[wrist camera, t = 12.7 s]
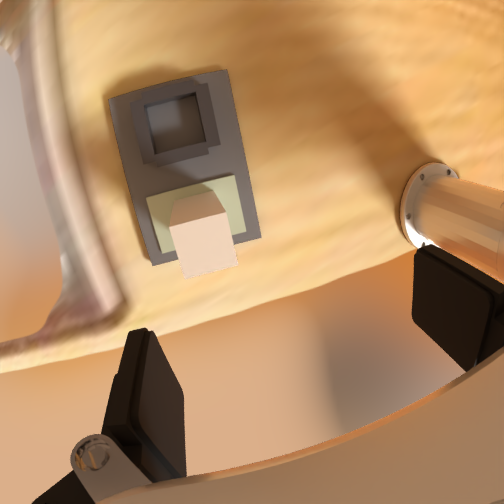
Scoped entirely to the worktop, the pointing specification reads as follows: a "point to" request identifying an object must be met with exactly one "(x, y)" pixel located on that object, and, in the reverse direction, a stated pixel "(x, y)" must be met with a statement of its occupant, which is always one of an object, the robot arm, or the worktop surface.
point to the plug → (202, 235)
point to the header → (183, 155)
